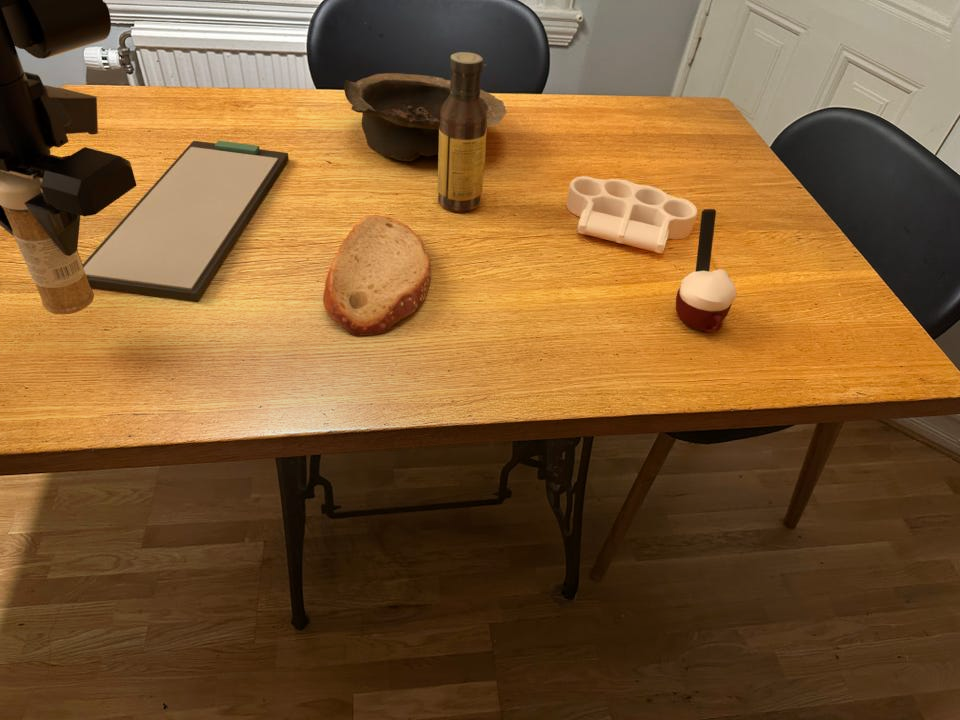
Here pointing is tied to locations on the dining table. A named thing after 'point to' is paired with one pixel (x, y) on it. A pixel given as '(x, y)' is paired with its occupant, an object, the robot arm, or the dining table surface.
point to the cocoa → (705, 286)
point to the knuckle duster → (629, 212)
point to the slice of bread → (376, 276)
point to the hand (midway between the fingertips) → (49, 247)
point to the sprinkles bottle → (43, 251)
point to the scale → (186, 222)
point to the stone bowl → (407, 112)
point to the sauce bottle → (462, 136)
